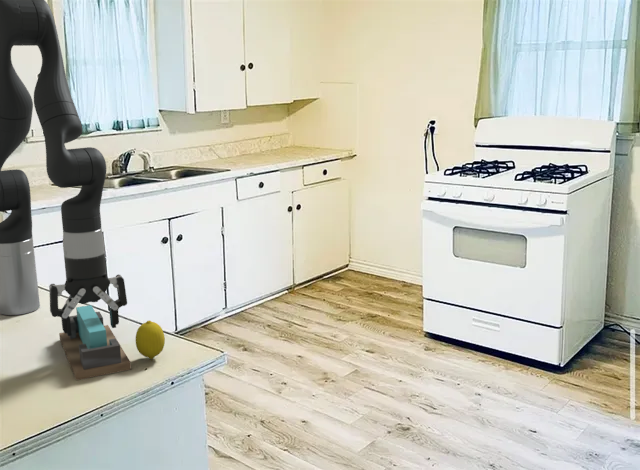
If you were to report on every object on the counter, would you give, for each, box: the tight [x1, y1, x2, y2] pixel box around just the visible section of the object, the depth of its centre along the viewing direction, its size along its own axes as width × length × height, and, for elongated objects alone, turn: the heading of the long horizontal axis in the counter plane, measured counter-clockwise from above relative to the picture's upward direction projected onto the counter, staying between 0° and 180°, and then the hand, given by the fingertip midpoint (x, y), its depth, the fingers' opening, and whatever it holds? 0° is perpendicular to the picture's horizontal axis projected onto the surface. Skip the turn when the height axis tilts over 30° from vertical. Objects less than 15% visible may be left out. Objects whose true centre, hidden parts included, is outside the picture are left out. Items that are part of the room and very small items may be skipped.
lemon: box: [135, 320, 166, 360], centre depth 134 cm, size 6×6×8 cm
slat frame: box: [58, 311, 132, 381], centre depth 137 cm, size 22×10×5 cm, turn 28°
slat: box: [75, 304, 107, 349], centre depth 136 cm, size 16×3×6 cm, turn 28°
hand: (91, 330), depth 136 cm, fingers open, 8 cm apart
